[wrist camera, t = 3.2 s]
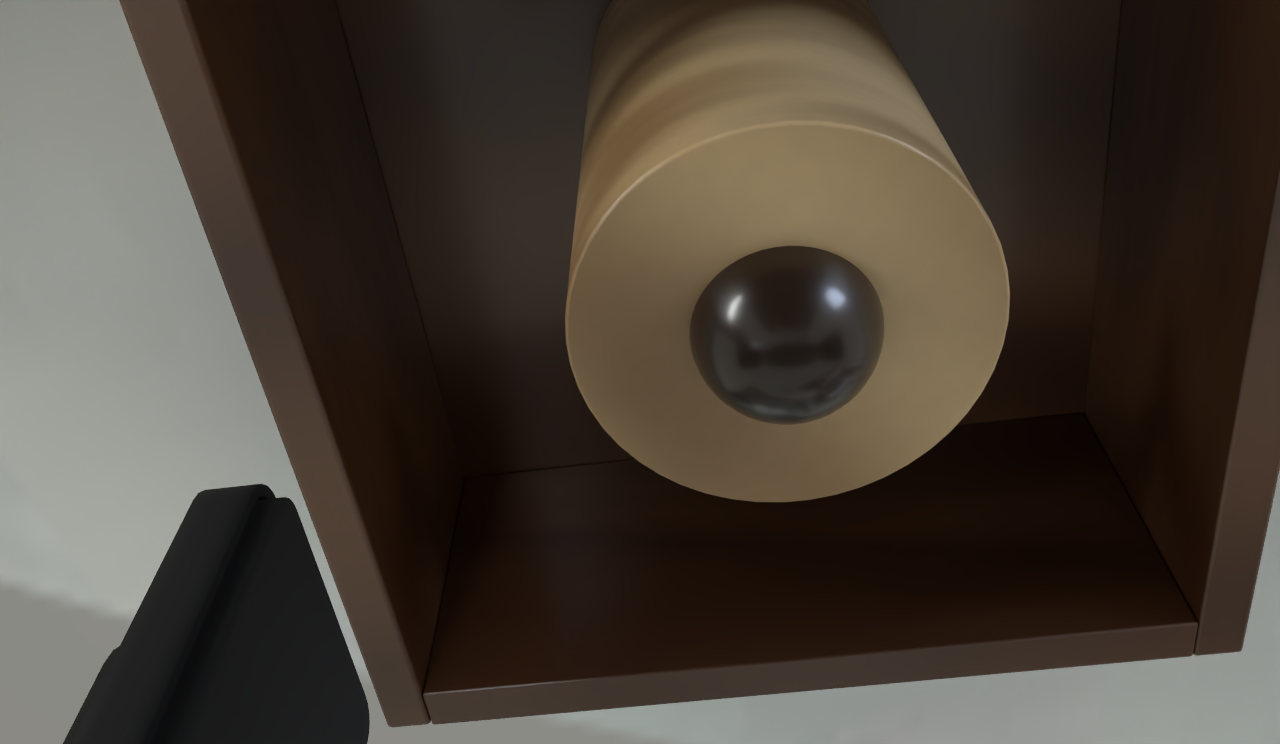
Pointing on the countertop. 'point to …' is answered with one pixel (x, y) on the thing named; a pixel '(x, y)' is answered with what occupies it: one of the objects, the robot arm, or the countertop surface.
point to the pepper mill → (773, 251)
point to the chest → (703, 523)
